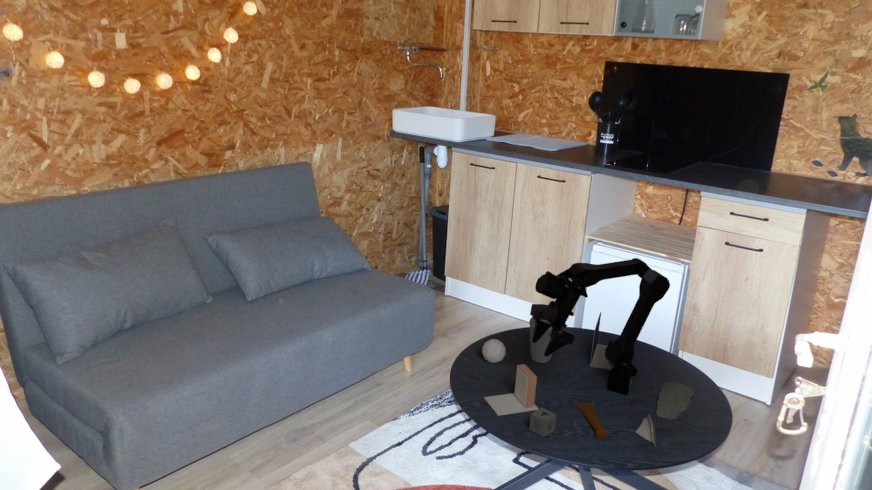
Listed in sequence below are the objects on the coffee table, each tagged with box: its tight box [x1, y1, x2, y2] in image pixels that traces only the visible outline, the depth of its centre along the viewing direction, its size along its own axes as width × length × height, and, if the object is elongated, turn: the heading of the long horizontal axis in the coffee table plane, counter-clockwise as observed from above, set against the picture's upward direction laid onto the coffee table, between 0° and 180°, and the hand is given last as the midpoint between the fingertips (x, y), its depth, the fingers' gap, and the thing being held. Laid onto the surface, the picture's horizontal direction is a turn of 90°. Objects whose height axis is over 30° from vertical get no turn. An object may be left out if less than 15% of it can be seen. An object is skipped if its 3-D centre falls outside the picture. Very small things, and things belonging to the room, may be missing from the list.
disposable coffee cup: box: [528, 315, 553, 364], centre depth 234 cm, size 11×11×15 cm
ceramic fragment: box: [634, 414, 657, 447], centre depth 196 cm, size 14×5×4 cm, turn 169°
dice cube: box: [528, 407, 557, 437], centre depth 194 cm, size 5×5×5 cm
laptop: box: [589, 312, 613, 371], centre depth 237 cm, size 18×12×13 cm
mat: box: [483, 392, 539, 417], centre depth 207 cm, size 13×10×1 cm
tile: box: [514, 363, 538, 408], centre depth 207 cm, size 3×8×10 cm, turn 19°
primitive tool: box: [575, 401, 610, 440], centre depth 200 cm, size 19×6×4 cm, turn 7°
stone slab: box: [655, 381, 695, 420], centre depth 212 cm, size 22×3×10 cm
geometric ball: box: [481, 338, 506, 364], centre depth 232 cm, size 8×8×8 cm
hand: (539, 349), depth 207 cm, fingers open, 9 cm apart
